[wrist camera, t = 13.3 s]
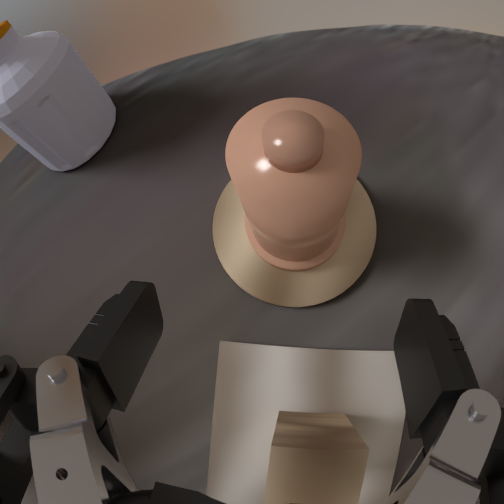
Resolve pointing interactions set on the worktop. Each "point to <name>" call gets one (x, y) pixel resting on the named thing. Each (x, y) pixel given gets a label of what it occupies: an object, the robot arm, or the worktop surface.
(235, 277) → the mat
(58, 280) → the worktop surface
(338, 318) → the worktop surface
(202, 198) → the worktop surface
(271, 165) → the lidded jar
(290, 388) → the white display stand
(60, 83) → the soap bottle
